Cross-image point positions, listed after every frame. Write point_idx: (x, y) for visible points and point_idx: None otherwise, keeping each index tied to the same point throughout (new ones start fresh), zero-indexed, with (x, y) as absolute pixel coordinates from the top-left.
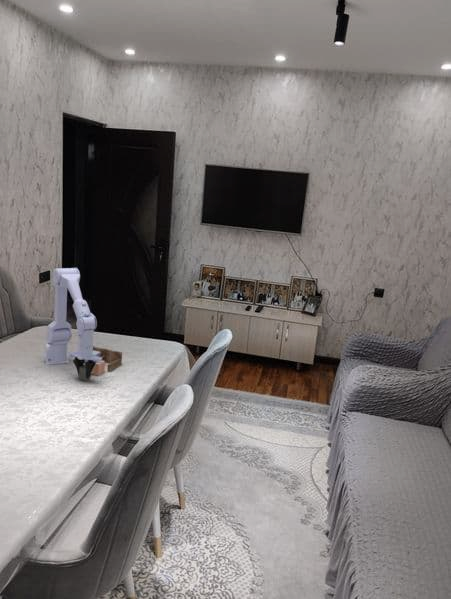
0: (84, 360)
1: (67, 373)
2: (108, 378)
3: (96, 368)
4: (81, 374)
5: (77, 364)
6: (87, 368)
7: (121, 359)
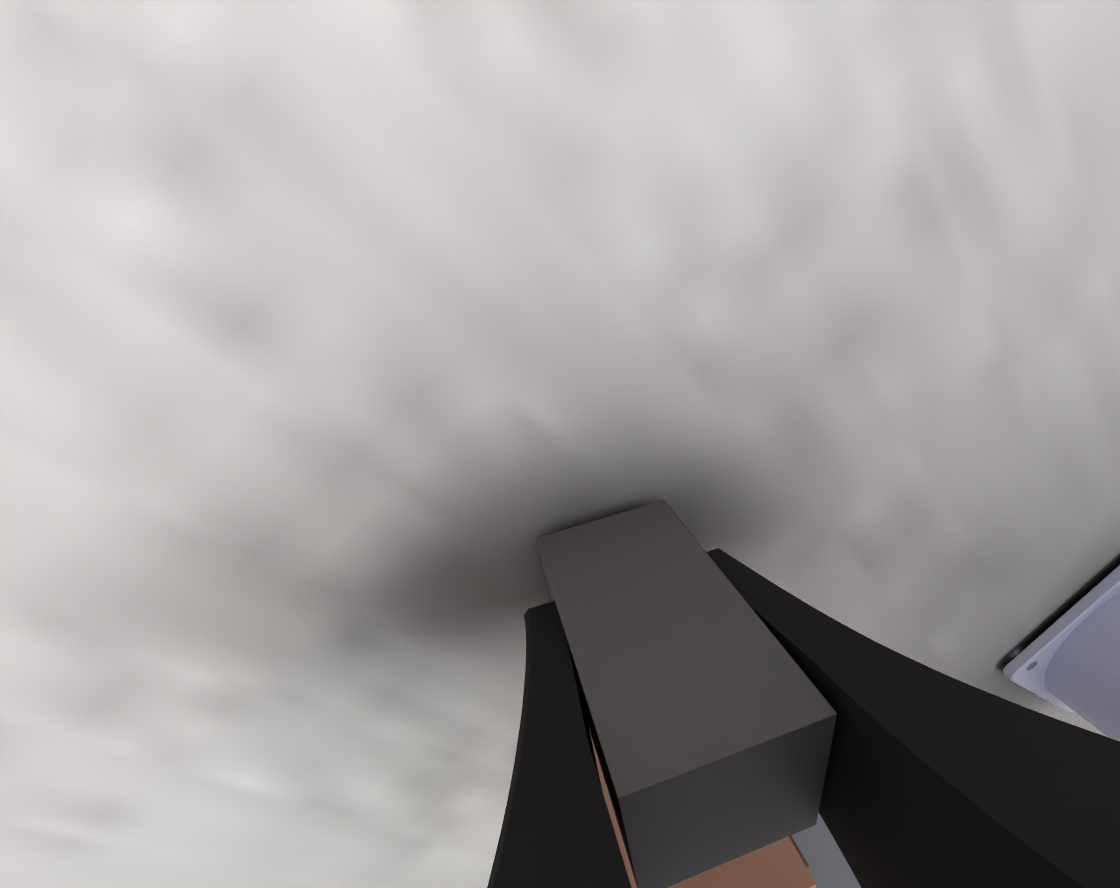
0: None
1: (911, 524)
2: (401, 794)
3: (621, 848)
4: (666, 590)
5: (974, 775)
6: (552, 851)
7: None
